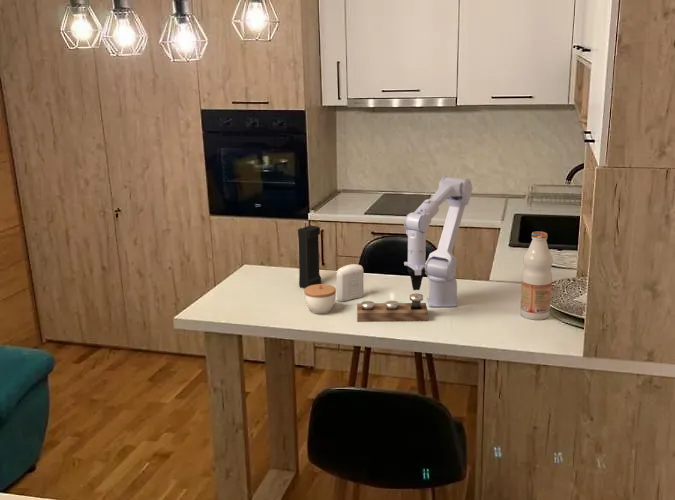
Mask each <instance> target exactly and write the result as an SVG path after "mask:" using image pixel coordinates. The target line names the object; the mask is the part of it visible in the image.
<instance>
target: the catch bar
mask: <svg viewBox="0 0 675 500" xmlns="http://www.w3.org/2000/svg"><path fill="white" fill-rule="evenodd" d="M361 303H362V302H360V303H359V302H358V303H356V306H357V307H356V308H357V309H356V315H357V316H356V321H357V323H358V322H359V323H371V322H372V323H373V322H376V323H377V322H381V323H383V322H385V323H386V322H390V323H391V322H429V311H428V306H427V302H421V308H420V309H419V310H414V309H412V302H398V303H399V307H398V308H396V310H388V308H386V307H385V303H386V302H381V303H379V302H378V303H376V302H374V308H372V310H364V309H363V308H361Z"/></svg>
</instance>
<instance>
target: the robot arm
mask: <svg viewBox="0 0 675 500" xmlns="http://www.w3.org/2000/svg"><path fill="white" fill-rule="evenodd" d="M438 183H439V184H438V188H437V190H436V191H435V193H434V194H433V195H432V197H431V198H429V199H424V200H423V202H422V203H421V204H420V205H419V206H418V207H417V208H416V210H414V211H413V212H410V213H408V214H406V216H405V218H404V222H403V226H404V229H405V234H406V236H407V261H404V262H403V264H404V266H406V267H407V272H408V274H409V276H410V279H411V280H410V281H411V286H412V290H413V291H420V289H421V286H422V281H423V277H424V276H425V275H426V276H427V279H429V281H428V282H429V284H428V285H429V287H428V288H429V289H428V290H429V292H428V294H429V295H428V297H427V298H426V301H427V303H428V307H429V308H438V307H439V308H441V307H443V308H445V307H446V308H448V307H449V308H451V307H457V301H458V283H457V278H455V276H456V273H457V265H458V260H457V258H456V256H455V255H454V253H453V250H454V247H455V243H456V239H457V236H458V232H459V229H460V226H461V222H462V218H463V216H464V215H463V214H464V211H465V208H466V206H468V205H469V202H470V200H471V199H470V198H471V197H472V192H473V184H472V181H471V179H470V178H459V177H450V176H446V175H445V176H442V178H441V179H440V180H439V182H438ZM444 202H445V203H447V204H448V209H447V210H448V211H447V214H446V218H445V219H444V220H445V221H444V225H443V228H442V231H441V235H440V239H439V242H438V246H437V249H436V250H434V251H432V252H430V253H429V255H428V257H427V260H426V251H427V250H426V244H427V243H426V241H427V231H428V230H429V228H430V224H431V223H432V219H433V218H434V217H435V216H436V215H437V214H438V213H439V210H440V206H441V205H442V204H443V203H444Z"/></svg>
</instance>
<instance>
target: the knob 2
mask: <svg viewBox="0 0 675 500" xmlns="http://www.w3.org/2000/svg"><path fill="white" fill-rule="evenodd" d="M423 300H424V295H423V293H410V294H409V301H410V302H411V303H412V309H414V310H419V309H420V308H421V303H422V301H423Z"/></svg>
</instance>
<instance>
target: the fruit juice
mask: <svg viewBox="0 0 675 500" xmlns="http://www.w3.org/2000/svg"><path fill="white" fill-rule="evenodd" d="M548 237H549V236H548V233H547V232H545V231H533V232H532V233H531V239H532V240H531V242H530V245H529V246H528V249H527V251H526V252H525V254H524V256H523V265H524V269H523V271H522V275H521V289H520V290H521V291H520V309H519V312H520V315H521V316H522V317H523V318H524V319H525V318H526V319H528V320H534V321H541V320H546V319H548V318H549V317H550V313H551V299H552V283H553V273H552V266H553V261H554V259H553V255H552V254H551V252H550V249H549V246H548V241H547V240H548Z"/></svg>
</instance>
